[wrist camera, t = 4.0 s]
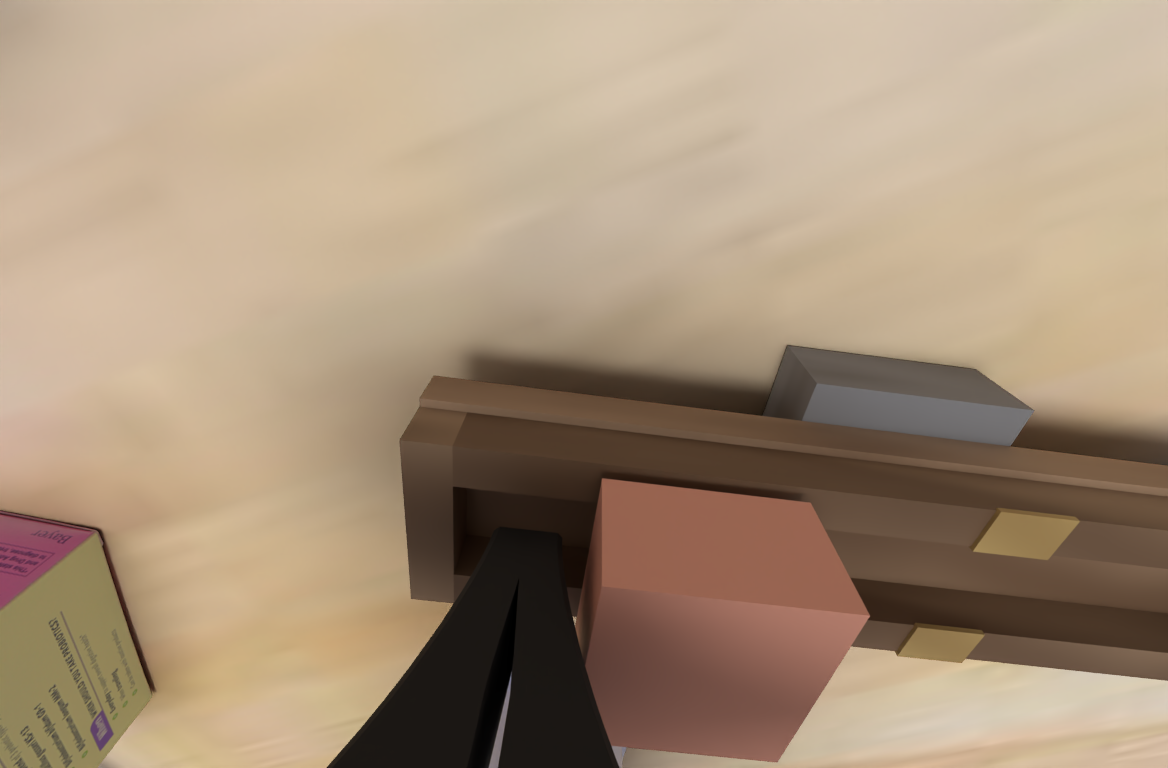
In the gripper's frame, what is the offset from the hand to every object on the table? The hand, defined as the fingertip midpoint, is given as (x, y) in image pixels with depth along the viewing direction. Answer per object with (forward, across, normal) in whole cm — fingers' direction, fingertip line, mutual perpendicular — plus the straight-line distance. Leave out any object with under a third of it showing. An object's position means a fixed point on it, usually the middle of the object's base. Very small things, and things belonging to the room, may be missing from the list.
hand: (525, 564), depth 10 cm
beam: (+5, -8, 0) cm, 10 cm away
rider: (+2, -3, 0) cm, 4 cm away
